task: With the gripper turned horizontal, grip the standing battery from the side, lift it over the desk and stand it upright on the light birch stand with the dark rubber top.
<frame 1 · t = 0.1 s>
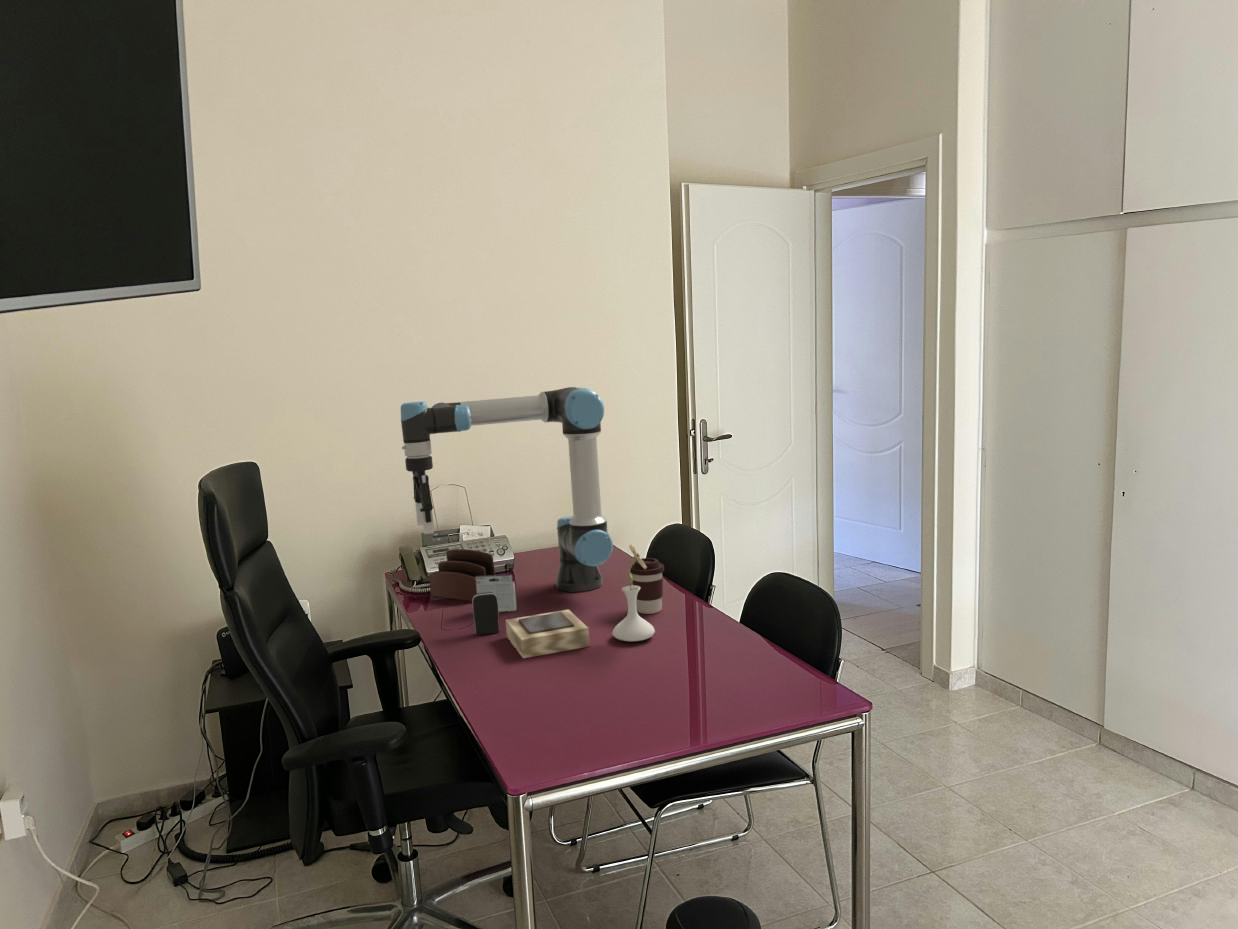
hand: (425, 529, 263), 28 cm above the table, tool pointing down, fingers open, 13 cm apart
stand: (547, 641, 244), on the table
flower in vase: (634, 637, 244), on the table
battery: (487, 633, 255), on the table
ink box: (497, 611, 274), on the table
coffee cup: (649, 611, 266), on the table
letter holder: (464, 595, 294), on the table
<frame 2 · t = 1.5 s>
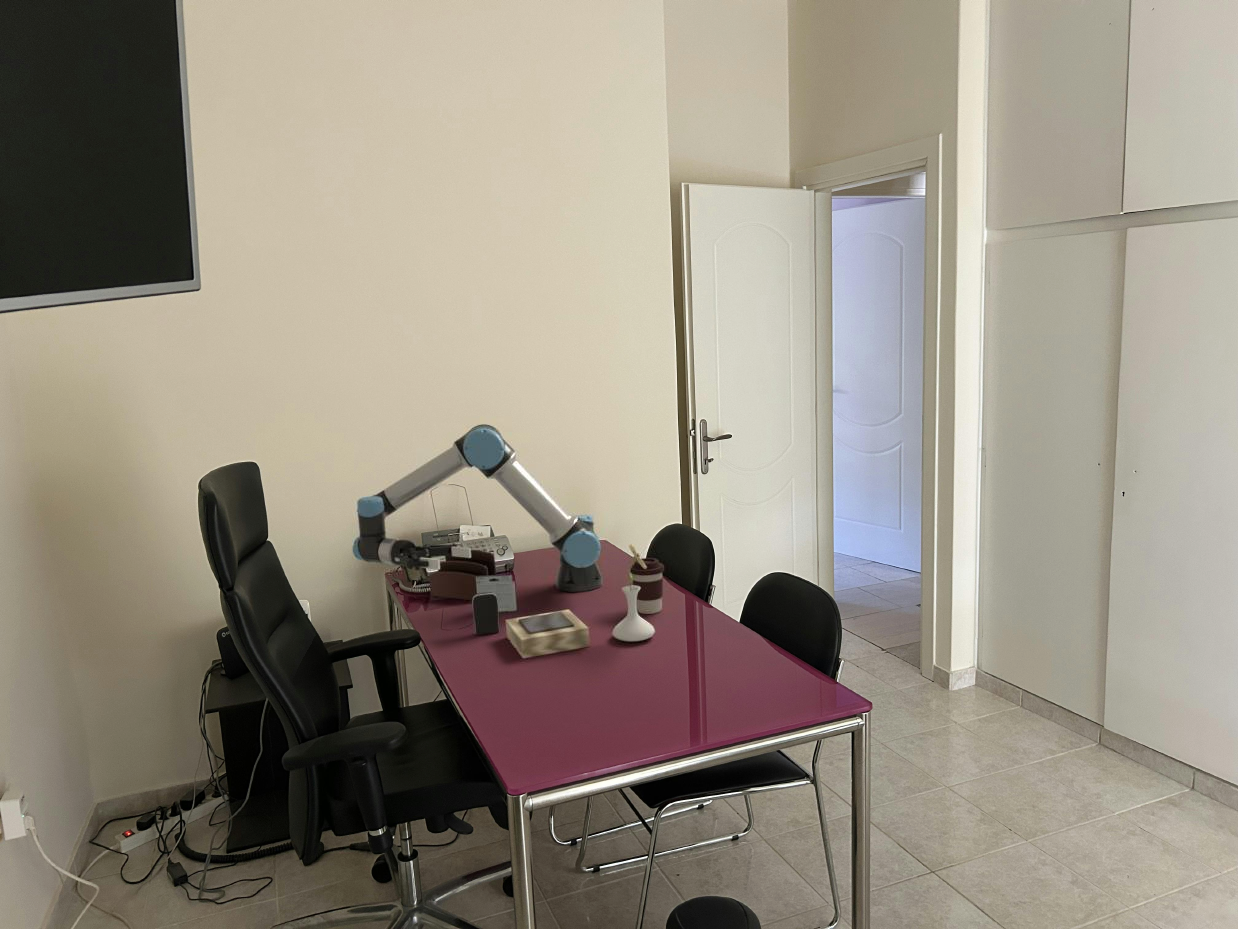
hand: (455, 558, 257), 20 cm above the table, tool horizontal, fingers open, 13 cm apart
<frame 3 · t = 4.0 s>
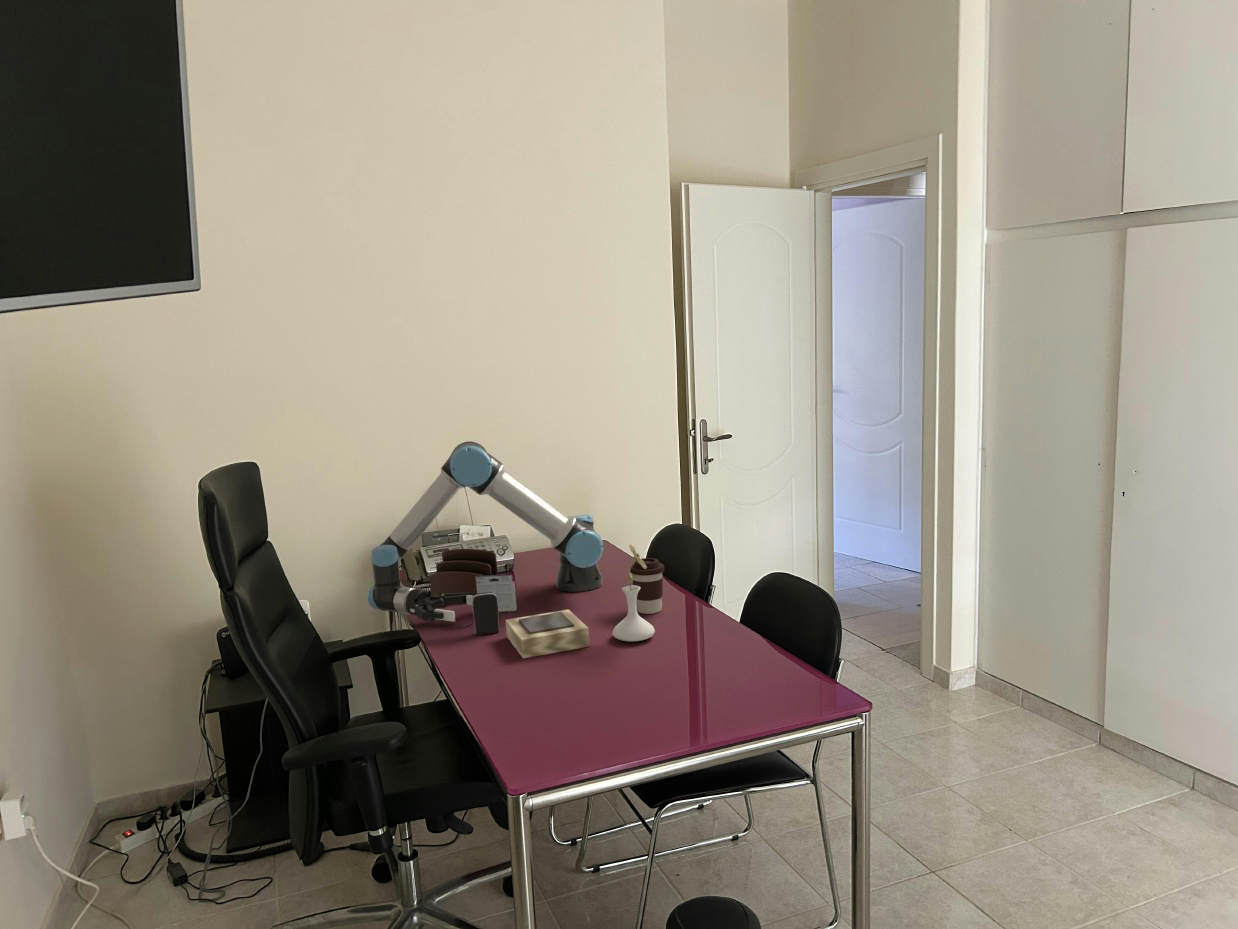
hand: (470, 609, 256), 6 cm above the table, tool horizontal, fingers open, 13 cm apart
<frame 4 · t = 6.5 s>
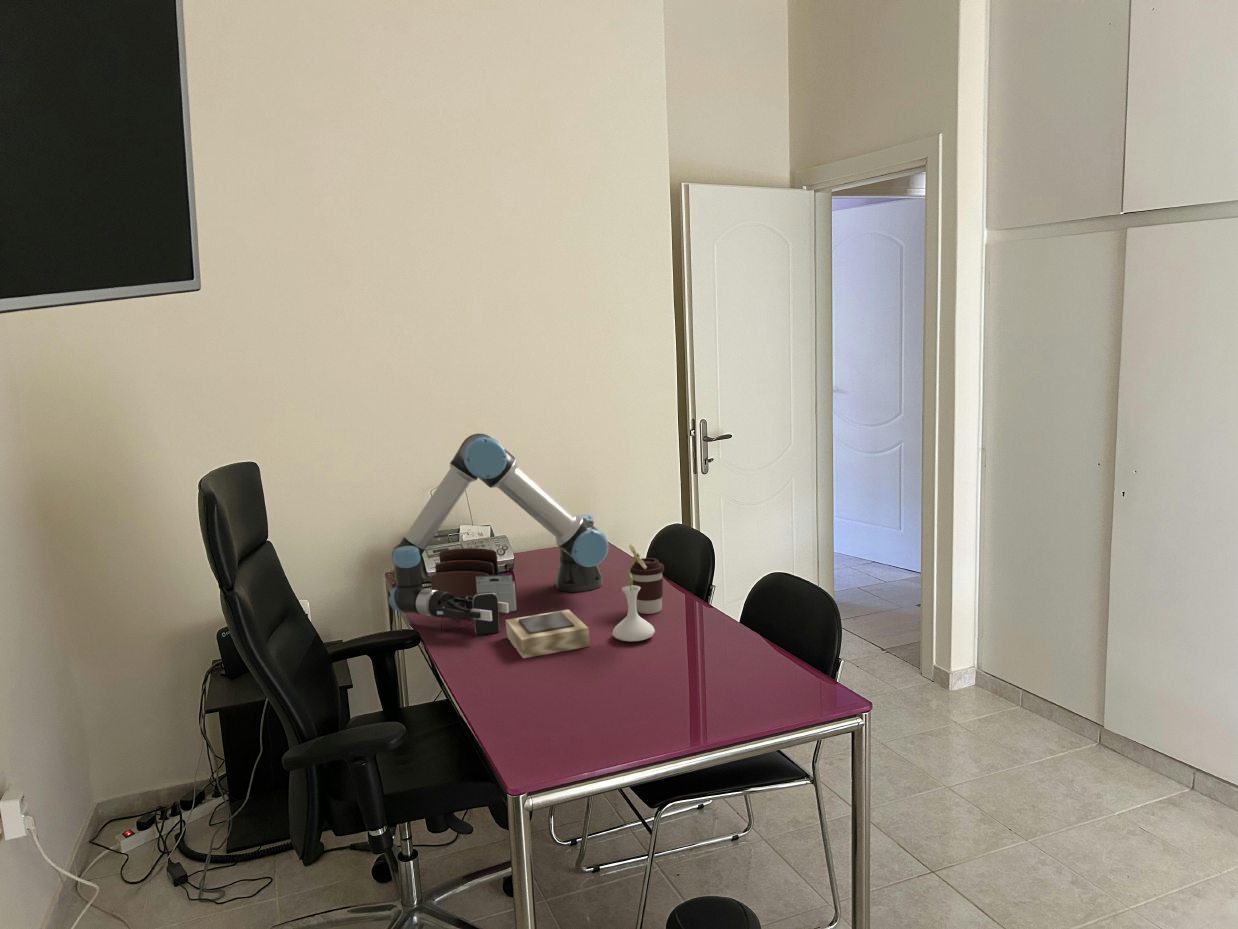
hand: (499, 612, 251), 7 cm above the table, tool horizontal, fingers closed on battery, 7 cm apart
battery: (487, 633, 255), on the table, touching gripper
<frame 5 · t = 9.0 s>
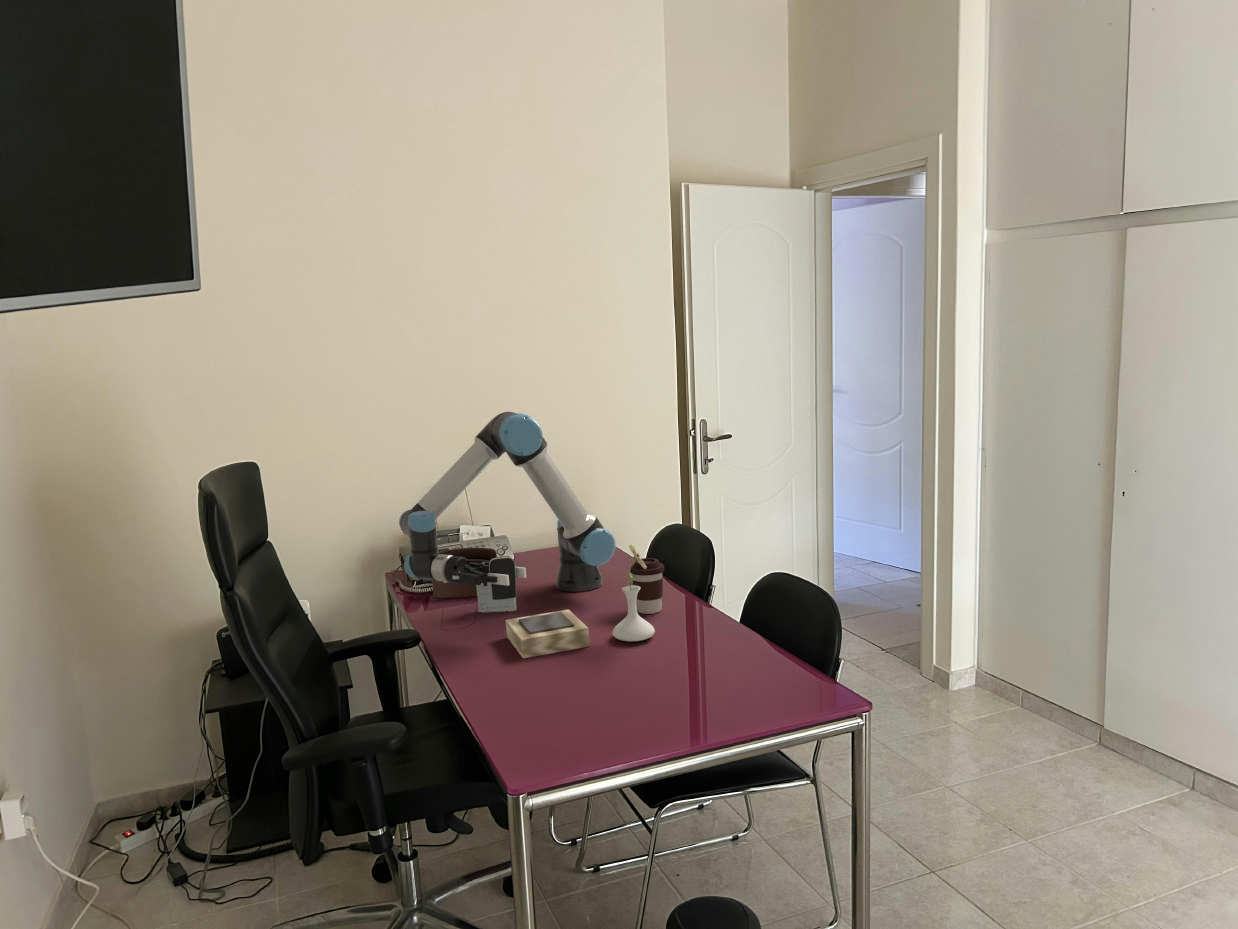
hand: (516, 576, 244), 18 cm above the table, tool horizontal, fingers closed on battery, 7 cm apart
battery: (504, 598, 248), point 11 cm above the table, touching gripper
when the fingers open (13 cm above the table, at t = 11.5 s): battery drops 1 cm, resting on stand.
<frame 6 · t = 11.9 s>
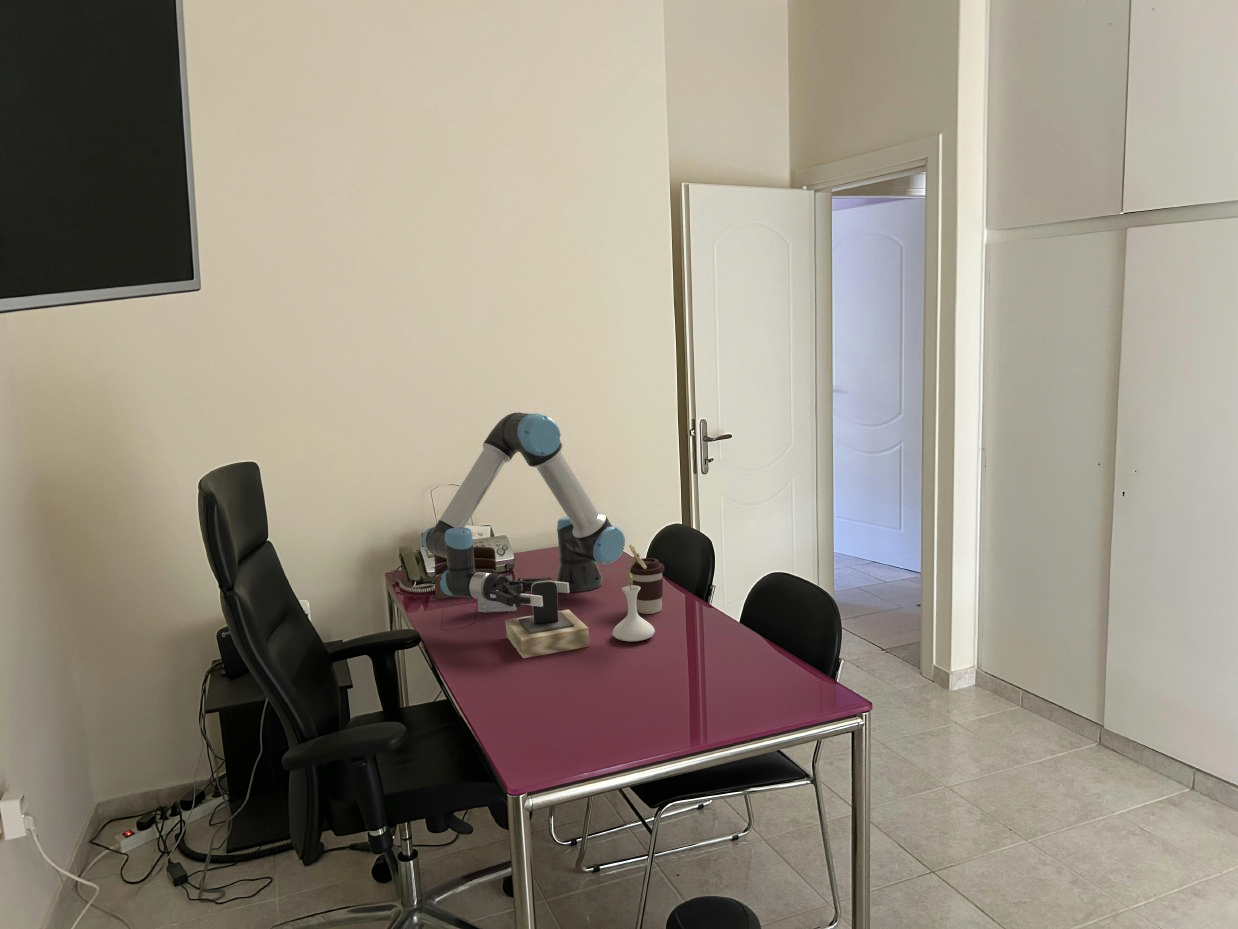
hand: (555, 594, 240), 13 cm above the table, tool horizontal, fingers open, 12 cm apart
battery: (545, 622, 243), point 5 cm above the table, touching stand
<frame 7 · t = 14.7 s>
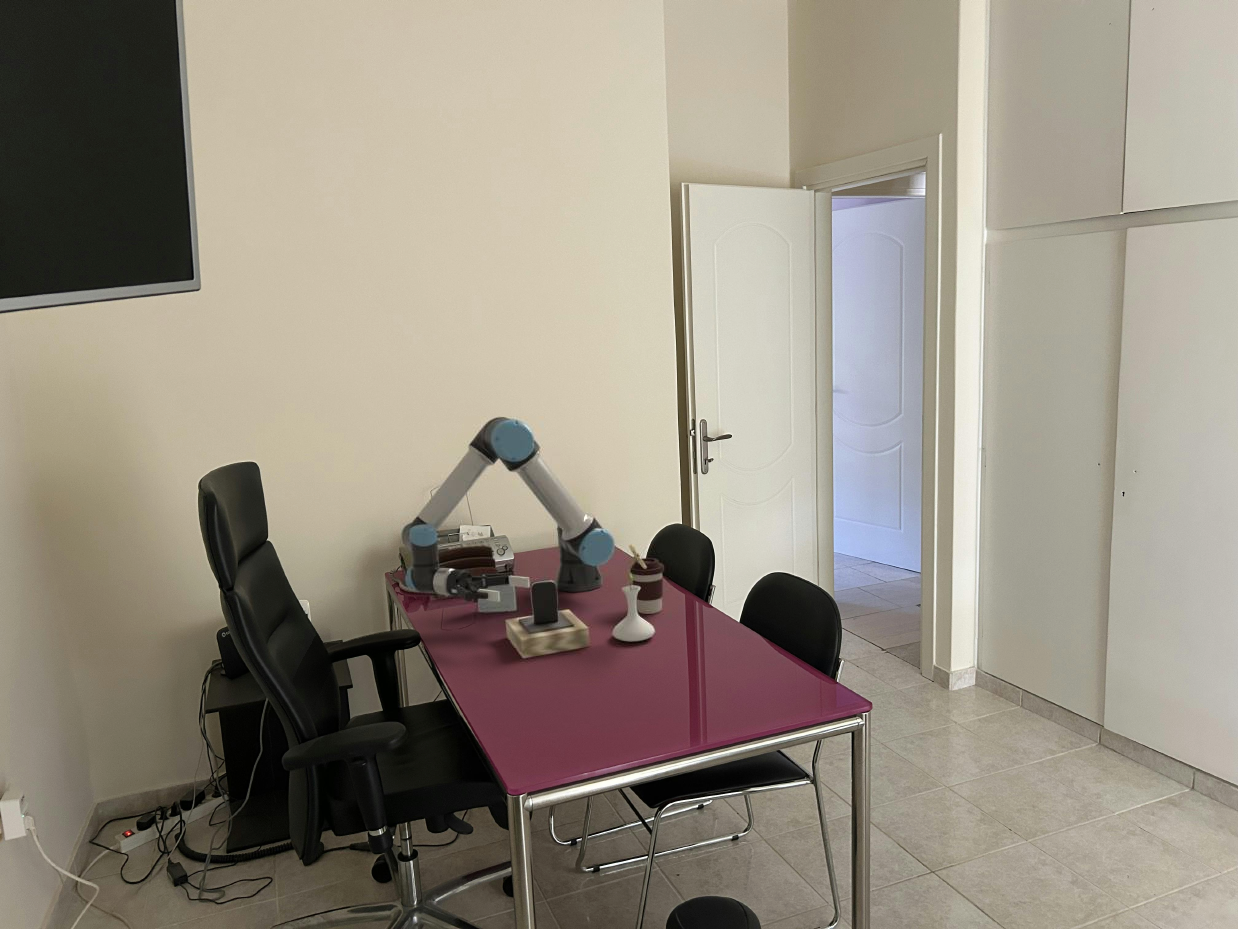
hand: (514, 589, 247), 14 cm above the table, tool horizontal, fingers open, 13 cm apart
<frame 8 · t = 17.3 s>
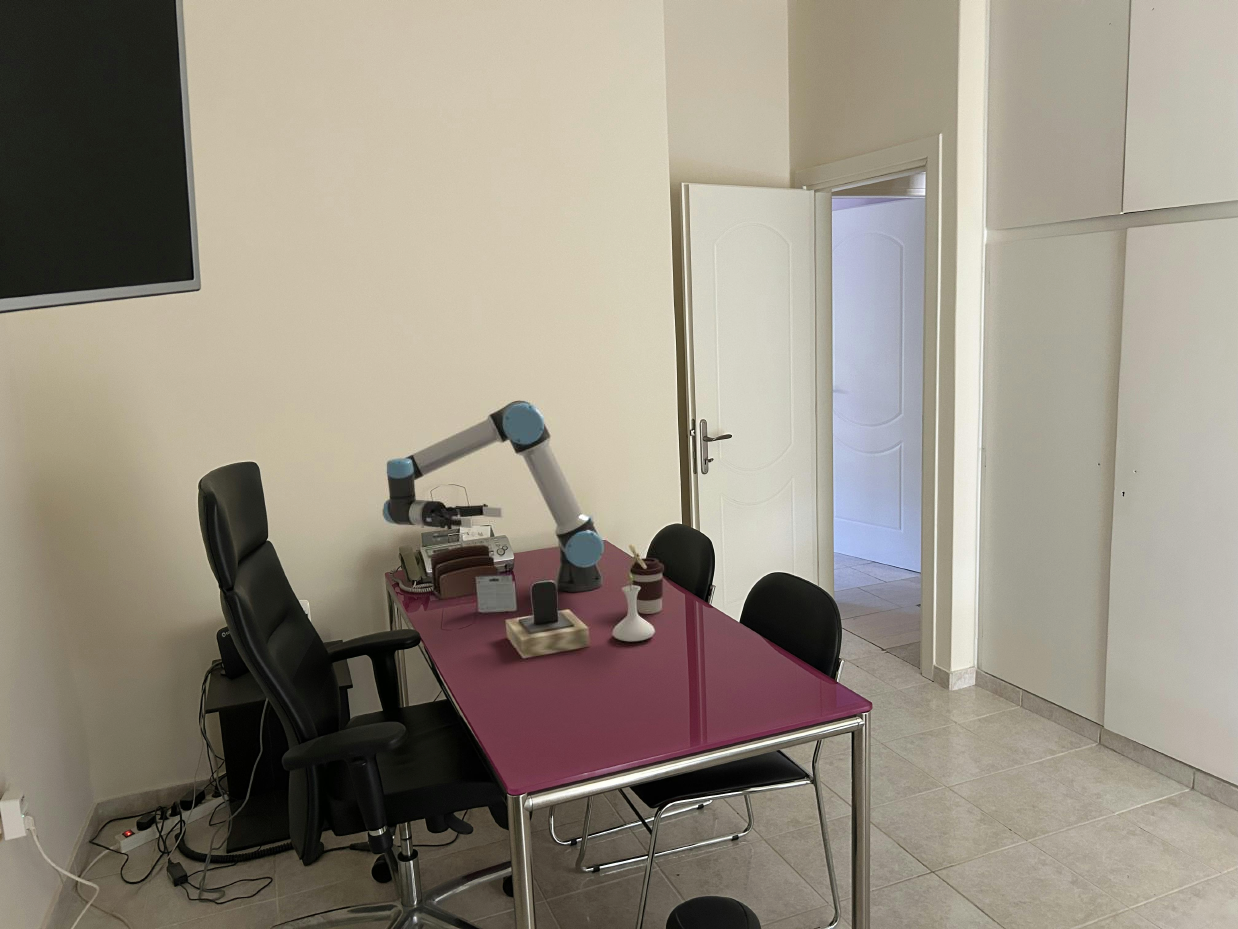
hand: (487, 517, 253), 32 cm above the table, tool horizontal, fingers open, 13 cm apart
at the end: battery inside the target area on the stand (0.1 cm from its centre), point 5.4 cm above the stand's base; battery tilted 0°; the gripper is holding nothing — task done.
